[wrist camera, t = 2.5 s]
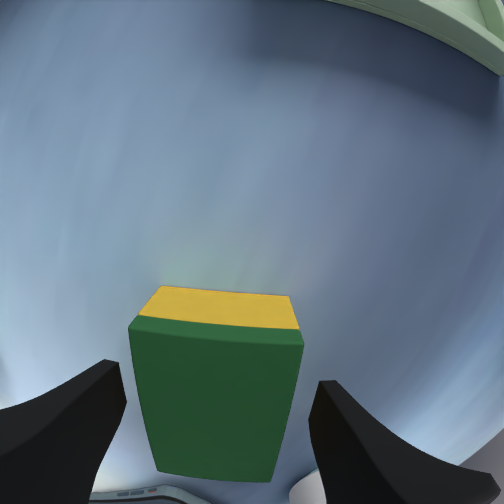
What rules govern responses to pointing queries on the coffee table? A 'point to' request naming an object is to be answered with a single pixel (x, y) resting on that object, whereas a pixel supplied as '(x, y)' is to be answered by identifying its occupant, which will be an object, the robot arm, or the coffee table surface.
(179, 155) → the coffee table surface
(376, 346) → the coffee table surface
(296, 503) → the can
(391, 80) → the coffee table surface
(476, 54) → the tray
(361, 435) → the robot arm
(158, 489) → the smartphone
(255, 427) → the sponge
